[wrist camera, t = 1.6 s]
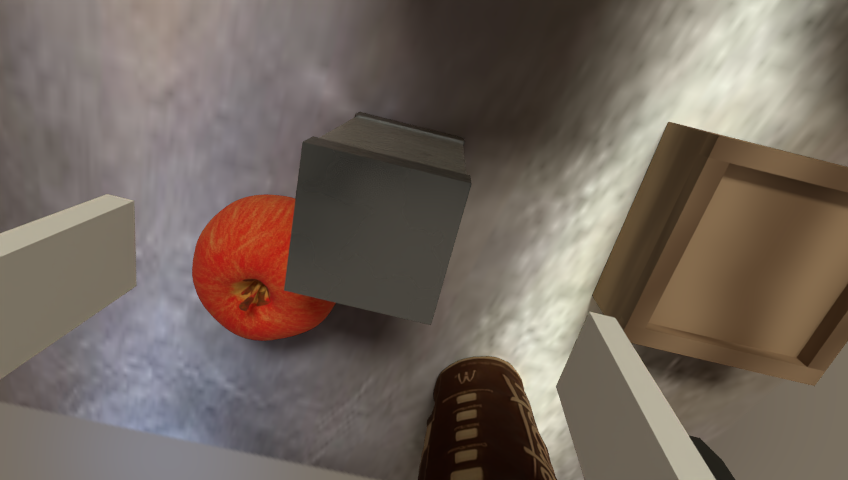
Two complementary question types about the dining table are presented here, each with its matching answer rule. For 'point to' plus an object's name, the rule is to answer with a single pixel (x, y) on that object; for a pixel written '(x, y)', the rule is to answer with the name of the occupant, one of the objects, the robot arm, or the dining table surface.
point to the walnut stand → (734, 257)
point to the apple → (253, 271)
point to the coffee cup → (483, 426)
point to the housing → (377, 216)
